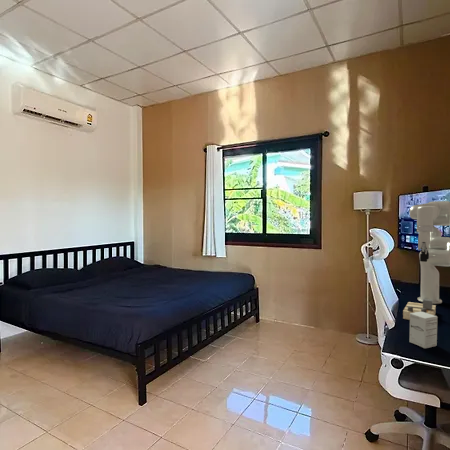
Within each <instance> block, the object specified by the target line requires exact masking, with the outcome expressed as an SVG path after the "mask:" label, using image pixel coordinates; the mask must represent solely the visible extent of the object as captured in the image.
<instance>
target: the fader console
mask: <svg viewBox="0 0 450 450" xmlns="http://www.w3.org/2000/svg"><path fill="white" fill-rule="evenodd" d="M436 306H437V304H432V310H430V309H424V308H423V303H422V302H421V303H419V302H411V301H408V302H407V304H406V305H405V307H404V308H403V310H402V319H404V320H408V321H410V313H415V312H421V311H422V312H425V313H428V314H431V315H434V316H436V309H437V307H436Z"/></svg>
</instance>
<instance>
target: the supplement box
mask: <svg viewBox="0 0 450 450" xmlns="http://www.w3.org/2000/svg"><path fill="white" fill-rule="evenodd" d="M408 337H409V339H408V340H409V343H411V344H414V345H417V346H419V347H420V348H423V349H429V348H432V347H433V348H434V347H436V346H437V343H438V341H437V340H438V316H437V315H435V316H434V315H431V314H428V313H425V312H422V311H421V312H415V313H410V320H409V336H408Z"/></svg>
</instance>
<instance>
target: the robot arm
mask: <svg viewBox="0 0 450 450" xmlns="http://www.w3.org/2000/svg"><path fill="white" fill-rule="evenodd" d="M409 217H410V218H411V219H412V220H416V232H418V239H417V240H418V241H417V244H418V246H417V250H418V251H420V252H419V254H418V257H419V264H420V296H419V297H417V300H418V301H419V302H421V303H423V299H430V300H432V305H439V304H442V303H443V300H442V299H441V298H440V272H439V270H438V269H437V268H436V266H438V267H450V237H449V236H448V237H447V236H442V232H441V231H440V230H439V229H438V228H437V226H441V227H448V226H450V201H449V200H443V201H441V200H440V201H439V200H437V201H435V200H434V201H429V202H428V203H421V204H414V205H412V206H411V207H410V209H409Z"/></svg>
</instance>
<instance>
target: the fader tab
mask: <svg viewBox="0 0 450 450" xmlns="http://www.w3.org/2000/svg"><path fill="white" fill-rule="evenodd" d="M422 304H423V308H424V309H430V310H432V305H433V304H432V300H430V299H423V302H422Z"/></svg>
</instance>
